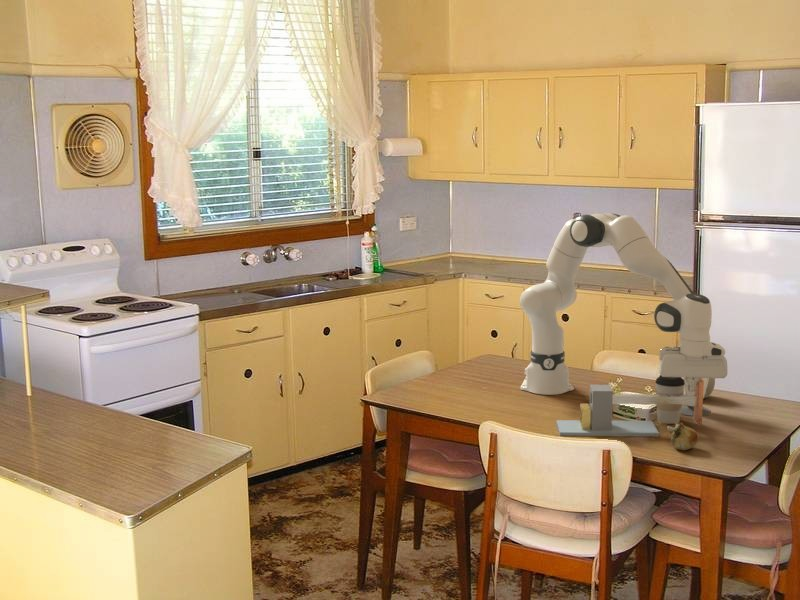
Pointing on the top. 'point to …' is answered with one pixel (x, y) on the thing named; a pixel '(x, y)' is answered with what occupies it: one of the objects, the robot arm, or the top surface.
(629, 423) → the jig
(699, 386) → the shaft
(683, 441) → the onion
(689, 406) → the cup
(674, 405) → the coffee cup
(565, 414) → the top surface
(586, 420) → the block
